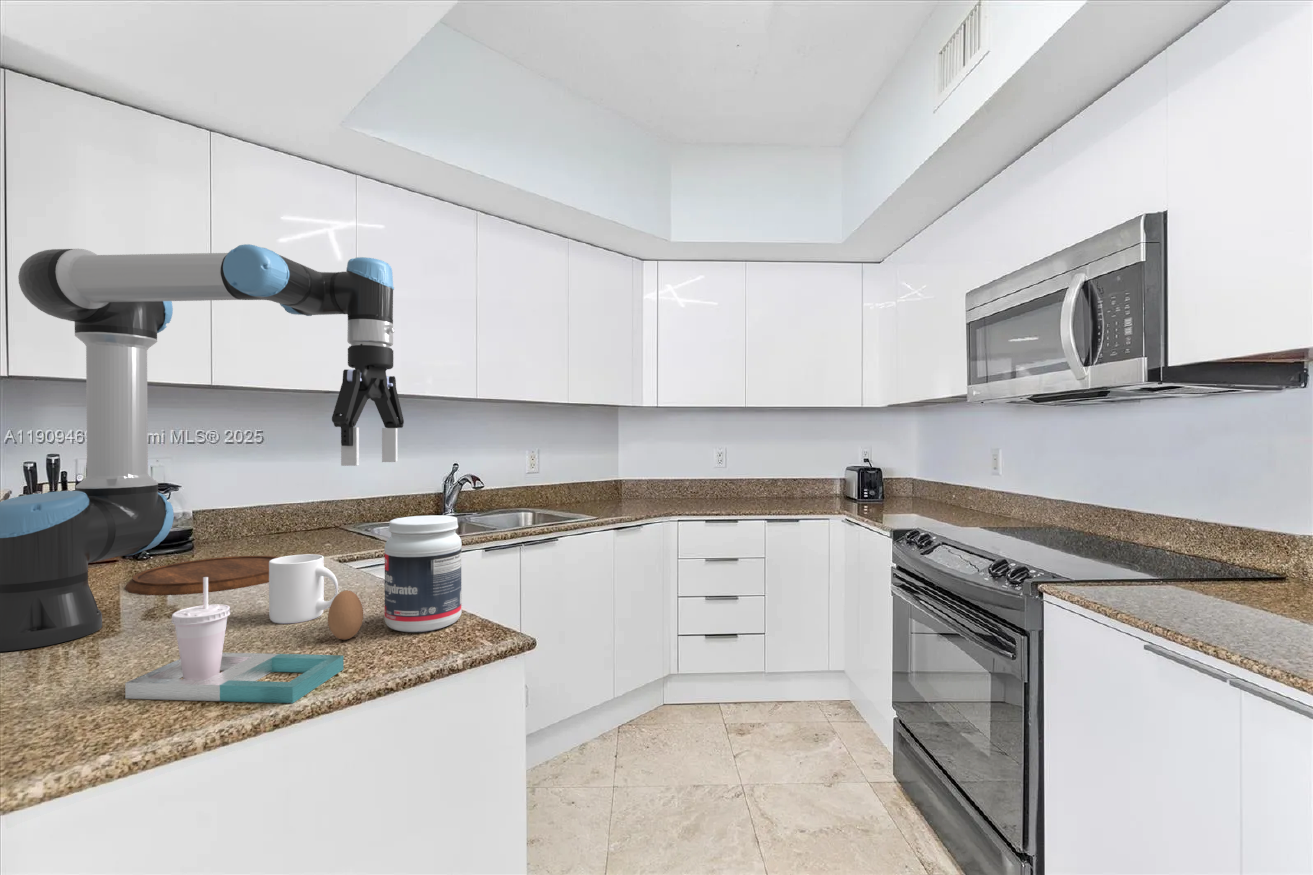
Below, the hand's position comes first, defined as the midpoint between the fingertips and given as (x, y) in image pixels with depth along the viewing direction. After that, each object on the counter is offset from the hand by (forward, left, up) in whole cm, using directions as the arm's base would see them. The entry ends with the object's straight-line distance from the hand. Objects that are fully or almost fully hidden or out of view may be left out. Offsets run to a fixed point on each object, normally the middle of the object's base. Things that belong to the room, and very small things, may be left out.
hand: (371, 463), depth 111 cm
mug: (-12, 0, -28) cm, 31 cm away
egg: (+2, -11, -28) cm, 30 cm away
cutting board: (-53, +29, -29) cm, 67 cm away
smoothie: (-8, -29, -28) cm, 41 cm away
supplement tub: (+11, -2, -28) cm, 30 cm away
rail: (-2, -29, -28) cm, 41 cm away
